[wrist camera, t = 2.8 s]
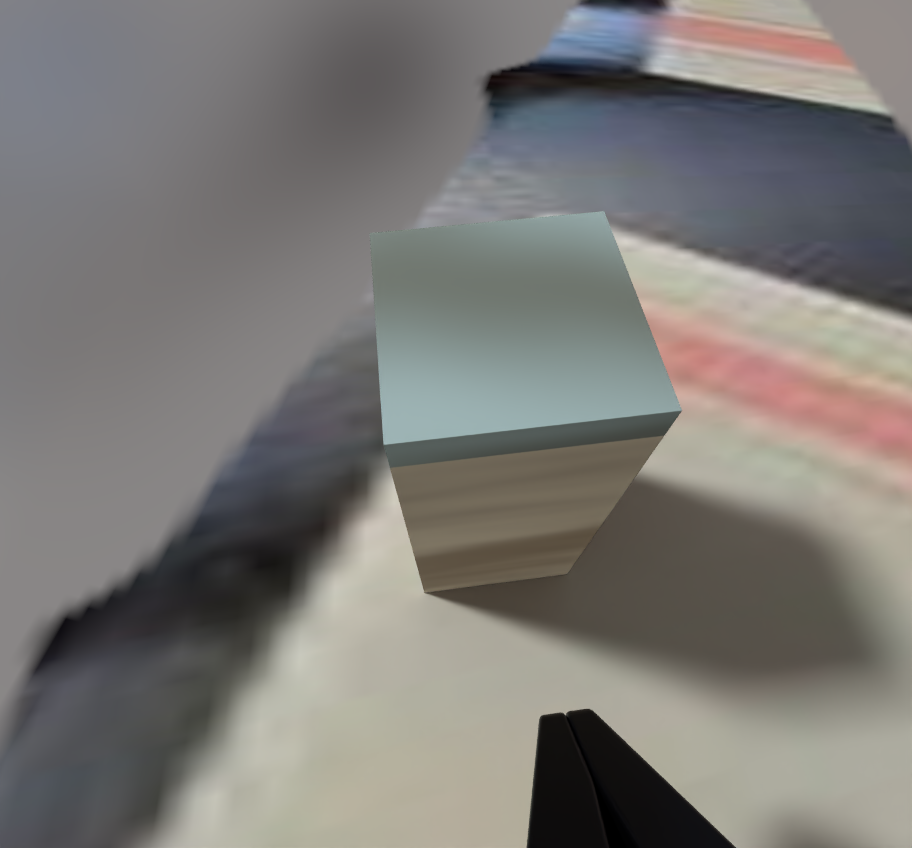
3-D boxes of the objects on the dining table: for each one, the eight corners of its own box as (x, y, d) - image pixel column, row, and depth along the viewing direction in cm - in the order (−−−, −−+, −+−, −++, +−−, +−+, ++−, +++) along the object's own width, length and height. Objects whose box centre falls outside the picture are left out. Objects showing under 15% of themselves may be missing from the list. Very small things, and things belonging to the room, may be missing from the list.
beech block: (567, 574, 17) (681, 410, 8) (424, 592, 16) (384, 444, 8) (538, 447, 19) (604, 211, 10) (412, 462, 19) (369, 233, 10)
